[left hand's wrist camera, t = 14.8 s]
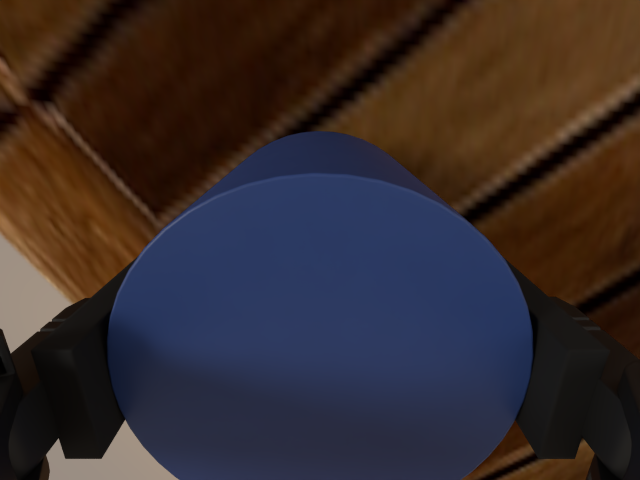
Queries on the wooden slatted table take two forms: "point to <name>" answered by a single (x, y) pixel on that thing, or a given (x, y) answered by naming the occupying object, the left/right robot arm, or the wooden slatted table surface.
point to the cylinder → (320, 326)
